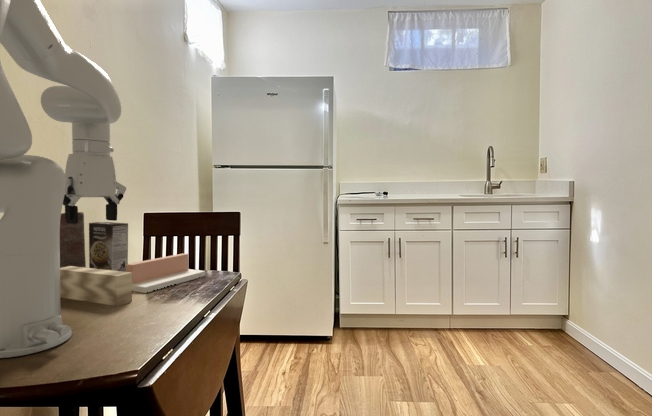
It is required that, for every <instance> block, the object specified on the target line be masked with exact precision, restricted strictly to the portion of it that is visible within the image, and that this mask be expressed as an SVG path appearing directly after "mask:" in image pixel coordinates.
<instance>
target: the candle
mask: <svg viewBox="0 0 652 416" xmlns="http://www.w3.org/2000/svg"><path fill="white" fill-rule="evenodd" d="M85 235H86V234H85V214H84V212H83V211H78V223H77V224H70V223H66V219H65V212H64V213H62V212H61V218H60V268H62V267H67V266H76V267H85V268H87V264H86V262H87V261H86V244H85V243H86V240H85V238H86V236H85Z"/></svg>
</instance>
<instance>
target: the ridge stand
mask: <svg viewBox="0 0 652 416" xmlns="http://www.w3.org/2000/svg"><path fill="white" fill-rule="evenodd" d="M126 272H131V273H132V292H137V293H144V294H148V293H150V292H154V291H153V290H155V291H157V289H158V290H160V289H161V288H162V289H165V288H168V287H167V286H169V287H171V286H170V285H172V286H175V285H174V284H176V285H178V284H182V283H186V282H189V281H193V280H196V279H199V277H200V278H203V277H205V276H206V270H198V269H191V268H189V254H188V253H179V254H174V255H168V256H164V257H163V256H162V257H157V258H152V259H146V260H141V261H136V262H132V263H128V264H126ZM164 287H165V288H164ZM147 292H148V293H147Z"/></svg>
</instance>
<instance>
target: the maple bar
mask: <svg viewBox="0 0 652 416" xmlns="http://www.w3.org/2000/svg"><path fill="white" fill-rule="evenodd" d="M61 298H62V299H67V300H75V301H83V302H87V303H95V304H101V305H108V306H114V307H119V306H122V305H125V304H128V303H130V302H133V291H132V273H131V272H122V271H113V270H104V269H94V268H89V267H86V268H85V267H76V266H67V267H62V268H60V299H61Z"/></svg>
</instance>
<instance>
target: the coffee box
mask: <svg viewBox="0 0 652 416" xmlns="http://www.w3.org/2000/svg"><path fill="white" fill-rule="evenodd" d="M88 252H89V253H88V255H89V256H88V259H89V262H88V266H89V267H88V268H94V269H104V270H113V271H122V272H126V264H129V259H128V258H129V223H128V222H127V223H126V222H115V221H114V222H113V221H112V222H111V221H110V222H109V221H101V222H99V221H96V222H88Z"/></svg>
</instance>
